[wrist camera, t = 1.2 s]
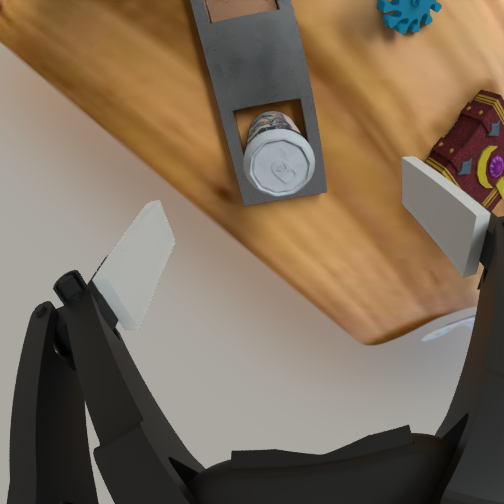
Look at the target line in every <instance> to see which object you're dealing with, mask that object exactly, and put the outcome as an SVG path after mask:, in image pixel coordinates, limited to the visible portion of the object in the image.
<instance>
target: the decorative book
mask: <svg viewBox="0 0 504 504" xmlns="http://www.w3.org/2000/svg"><path fill="white" fill-rule="evenodd" d="M461 114H462V116H461V118H460V119H459V120H458V122H457V123H456V124H455V125H454V127H453V128H452V129H451V131H450V132H449V133H448V134H447V136H446V137H445V138H442V137H441V138H440V139H439V141H438V142H437V143H436V144H435V145H434V147H433V148H432V150H433V151H434V152H433V153H432V154H431V155H430V156H429V158H428V159H427V160H426V161H425V162H424V163H425V164H426V165H428V166H429V167H431V168H432V169H434V170H435V171H437V172H438V173H440V174H441V175H442V176H444V177H445V178H447V179H448V180H449V181H451V182H452V183H453V184H455V185H456V186H457V187H459V188H460V189H461V190H463V191H464V192H466V193H468V194H470V195H472V196H473V197H474V198H476V199H477V200H478V202H480V203H482V204H483V206H485V207H486V208H488V209H489V210H490V211H492V210H493V208H494V207H495V206H496V205H497V203H498V202H499V201H500V200H501V199H503V200H504V100H503V98H502V97H501V95H499V94H495V93H492V92H488V91H484V90H481V91H480V92H479V94H478V95H477V96H476V98H475V99H474V100H473V102H472V103H469V102H468V103H467V105H466V106H465V107H464V109H463V110H462V111H461Z"/></svg>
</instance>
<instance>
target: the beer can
mask: <svg viewBox="0 0 504 504" xmlns="http://www.w3.org/2000/svg"><path fill="white" fill-rule="evenodd" d="M243 167H244V171H245V175H246V177H247V179H248V180H249V182H250V183H251V184H252V185H253V186H254V187H255V188H256V189H258V190H259V191H261V192H262V193H265V194H268V195H271V196H286V195H291V194H294V193H296V192H298V191H299V190H301V189H302V188H303V187H305V185H306V184H307V183H308V182H309V181H310V179H311V177H312V175H313V172H314V167H315V157H314V153H313V150H312V148H311V146H310V145H309V143H308V142H307V141H306V140H305V138H304V137H303V136H302V134H301V133H300V131H299V130H298V129H297V127H296V126H295V124H294V123H293V121H292V120H291V119H290V118H289V117H288V116H287V115H285V114H283V113H281V112H277V111H269V112H264V113H262V114H260V115H259V116H257V117H256V118H255V119H254V121H253V122H252V123H251V125H250V129H249V136H248V141H247V146H246V151H245V154H244V158H243Z"/></svg>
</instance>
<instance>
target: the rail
mask: <svg viewBox="0 0 504 504" xmlns="http://www.w3.org/2000/svg"><path fill="white" fill-rule="evenodd" d="M190 2H191V6H192V10H193V13H194V17H195V21H196V25H197V28H198V32H199V36H200V40H201V43H202V47H203V51H204V55H205V59H206V62H207V66H208V70H209V74H210V77H211V81H212V85H213V89H214V93H215V96H216V100H217V104H218V108H219V112H220V116H221V119H222V123H223V127H224V131H225V135H226V138H227V142H228V146H229V150H230V154H231V158H232V161H233V165H234V169H235V173H236V177H237V181H238V185H239V188H240V192H241V196H242V200H243V204H244V206H250V205H255V204H260V203H266V202H272V201H277V200H283V199H289V198H295V197H301V196H307V195H313V194H319V193H326V192H327V187H326V179H325V171H324V163H323V155H322V148H321V141H320V135H319V128H318V122H317V116H316V110H315V104H314V99H313V93H312V88H311V83H310V78H309V73H308V68H307V64H306V59H305V55H304V50H303V46H302V42H301V37H300V33H299V29H298V25H297V21H296V18H295V14H294V10H293V7H292V3H291V0H276V3H277V6H276V3H275V0H206V2H207V5H206V2H205V0H190ZM207 6H208V9H207ZM277 7H278V10H277ZM208 10H209V13H210V16H209V13H208ZM210 17H211V20H210ZM211 21H212V23H211ZM298 98H299V101H300V106H301V112H302V117H303V123H304V128H305V134H306V140H307V142H308V143H309V145H310V146H311V148H312V150H313V153H314V157H315V167H314V172H313V175H312V177H311V179H310V181H309V182H308V183H307V184H306V185H305V187H303V188H302V189H301V190H299V191H298V192H296V193H294V194H291V195H286V196H271V195H268V194H265V193H262V192H261V191H259V190H258V189H256V188H255V187H254V186H253V185H252V184H251V183H250V182H249V180H248V179H247V177H246V175H245V171H244V167H243V158H244V154H245V153H244V149H243V145H242V141H241V137H240V133H239V129H238V125H237V121H236V117H235V113H234V110H238V109H242V108H247V107H252V106H257V105H262V104H267V103H273V102H279V101H285V100H291V99H298Z"/></svg>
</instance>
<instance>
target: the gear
mask: <svg viewBox="0 0 504 504" xmlns="http://www.w3.org/2000/svg"><path fill="white" fill-rule="evenodd" d="M436 1H438V0H392V2H388V1H386V0H378V3H377V9H379V10H381V11H382V12H384V13H388V12H390V11H392V10H395V13H394V14H393V15H388V14H386V15H384V16H383V17H382V18H383V22H384V24H385V25H386V26H388V27H389V28H394V29H395V30H396V31H398V32H399V33H401V34H403V35H404V34H405V33H406V31H407V29H409V30H410V31H411V32H413V33H416V32H419V30H420V21H421V22H422V23H424V24H425V25H428V24H430V23H431V22H432V18H431V16H430V9H432V10H433V11H435V12H438V11H439V10H440V9H441V7H442V6H441V4H439V3H438V2H436ZM400 20H401V21H400Z"/></svg>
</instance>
